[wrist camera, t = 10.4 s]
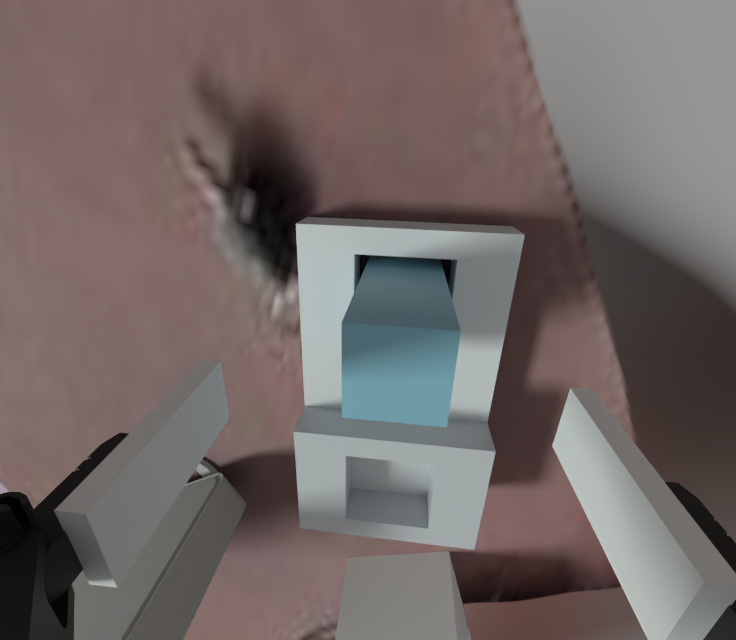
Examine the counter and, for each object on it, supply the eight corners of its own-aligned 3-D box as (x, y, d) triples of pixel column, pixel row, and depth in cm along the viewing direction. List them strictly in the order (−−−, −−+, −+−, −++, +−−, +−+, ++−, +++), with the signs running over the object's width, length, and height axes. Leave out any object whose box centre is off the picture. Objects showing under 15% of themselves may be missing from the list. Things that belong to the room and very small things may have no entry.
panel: (308, 216, 26) (280, 232, 20) (512, 226, 25) (540, 245, 19) (317, 471, 36) (299, 528, 30) (464, 487, 34) (474, 549, 29)
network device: (223, 437, 35) (22, 735, 17) (273, 499, 38) (145, 813, 20) (51, 504, 42) (-221, 766, 24) (103, 552, 45) (-106, 821, 27)
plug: (370, 255, 27) (341, 322, 16) (440, 259, 26) (461, 331, 15) (367, 332, 29) (341, 437, 18) (431, 337, 29) (444, 447, 18)
